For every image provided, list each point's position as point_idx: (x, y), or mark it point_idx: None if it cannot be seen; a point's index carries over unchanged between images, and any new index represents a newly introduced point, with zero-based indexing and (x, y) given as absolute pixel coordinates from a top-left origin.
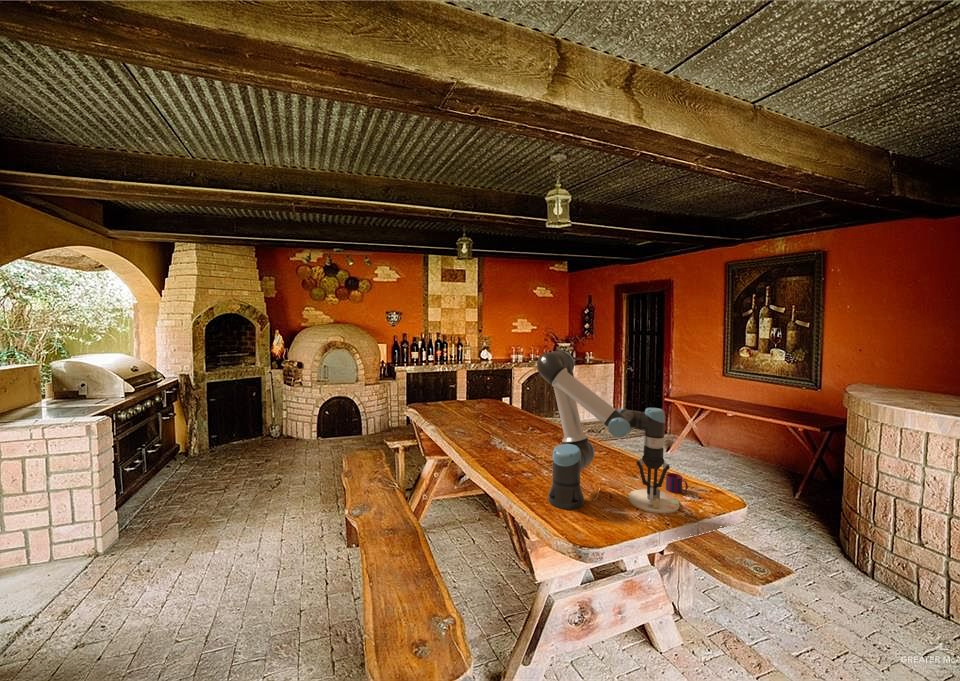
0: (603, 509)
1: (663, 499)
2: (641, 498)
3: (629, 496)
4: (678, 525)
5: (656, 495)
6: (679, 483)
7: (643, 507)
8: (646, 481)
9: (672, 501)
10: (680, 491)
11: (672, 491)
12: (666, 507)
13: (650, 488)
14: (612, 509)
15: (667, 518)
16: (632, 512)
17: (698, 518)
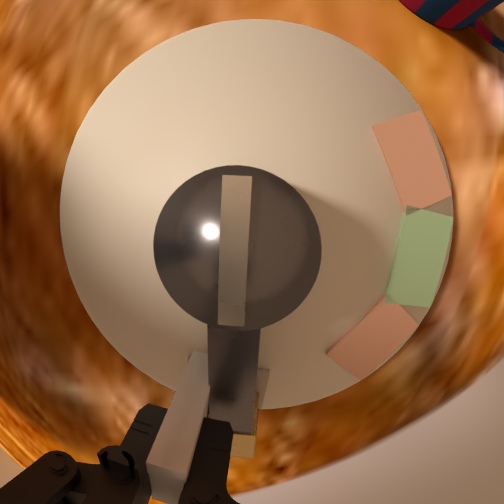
0: (15, 363)
1: (342, 220)
2: (141, 243)
3: (63, 228)
4: (327, 466)
5: (248, 375)
6: (497, 4)
7: (159, 378)
8: (83, 495)
9: (407, 257)
10: (469, 24)
11: (426, 16)
12: (323, 371)
13: (157, 493)
14: (36, 363)
15: (296, 431)
16: (112, 392)
17: (459, 382)
